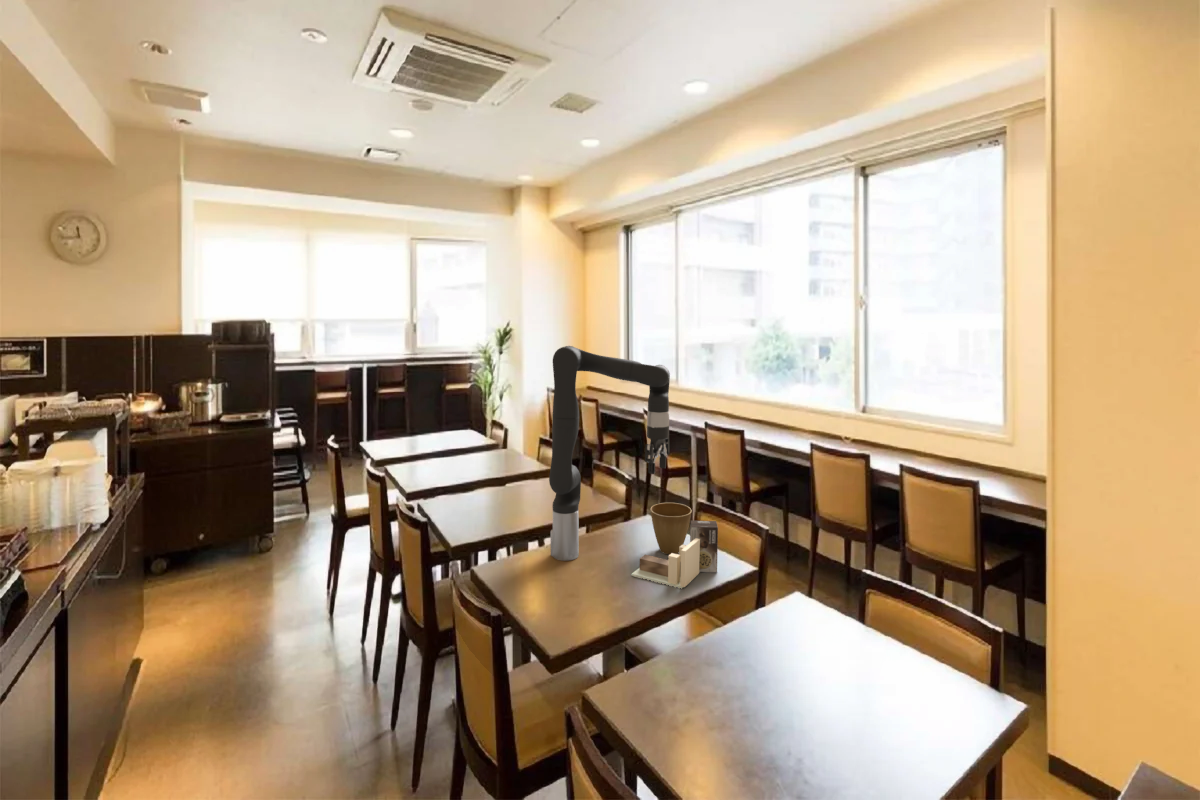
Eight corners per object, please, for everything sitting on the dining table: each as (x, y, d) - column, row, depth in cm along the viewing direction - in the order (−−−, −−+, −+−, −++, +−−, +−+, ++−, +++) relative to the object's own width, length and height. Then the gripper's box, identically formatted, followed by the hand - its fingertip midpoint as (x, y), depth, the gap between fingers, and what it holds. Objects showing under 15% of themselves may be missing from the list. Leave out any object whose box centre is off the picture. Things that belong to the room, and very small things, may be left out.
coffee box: (715, 565, 207) (717, 520, 205) (717, 573, 201) (718, 527, 199) (689, 564, 208) (690, 519, 206) (689, 572, 202) (691, 526, 200)
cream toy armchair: (631, 575, 199) (632, 539, 197) (648, 563, 209) (648, 528, 207) (684, 589, 189) (685, 551, 187) (698, 575, 199) (700, 538, 197)
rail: (639, 569, 202) (639, 557, 201) (645, 565, 205) (645, 553, 204) (677, 579, 194) (677, 566, 194) (682, 574, 198) (682, 562, 197)
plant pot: (644, 545, 225) (645, 504, 223) (681, 541, 229) (682, 501, 226) (657, 560, 211) (658, 517, 208) (697, 557, 214) (698, 514, 212)
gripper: (657, 419, 210) (656, 464, 213) (638, 426, 198) (637, 473, 201) (676, 422, 206) (675, 467, 209) (658, 428, 194) (658, 477, 197)
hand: (657, 470), depth 205 cm, fingers open, 8 cm apart
